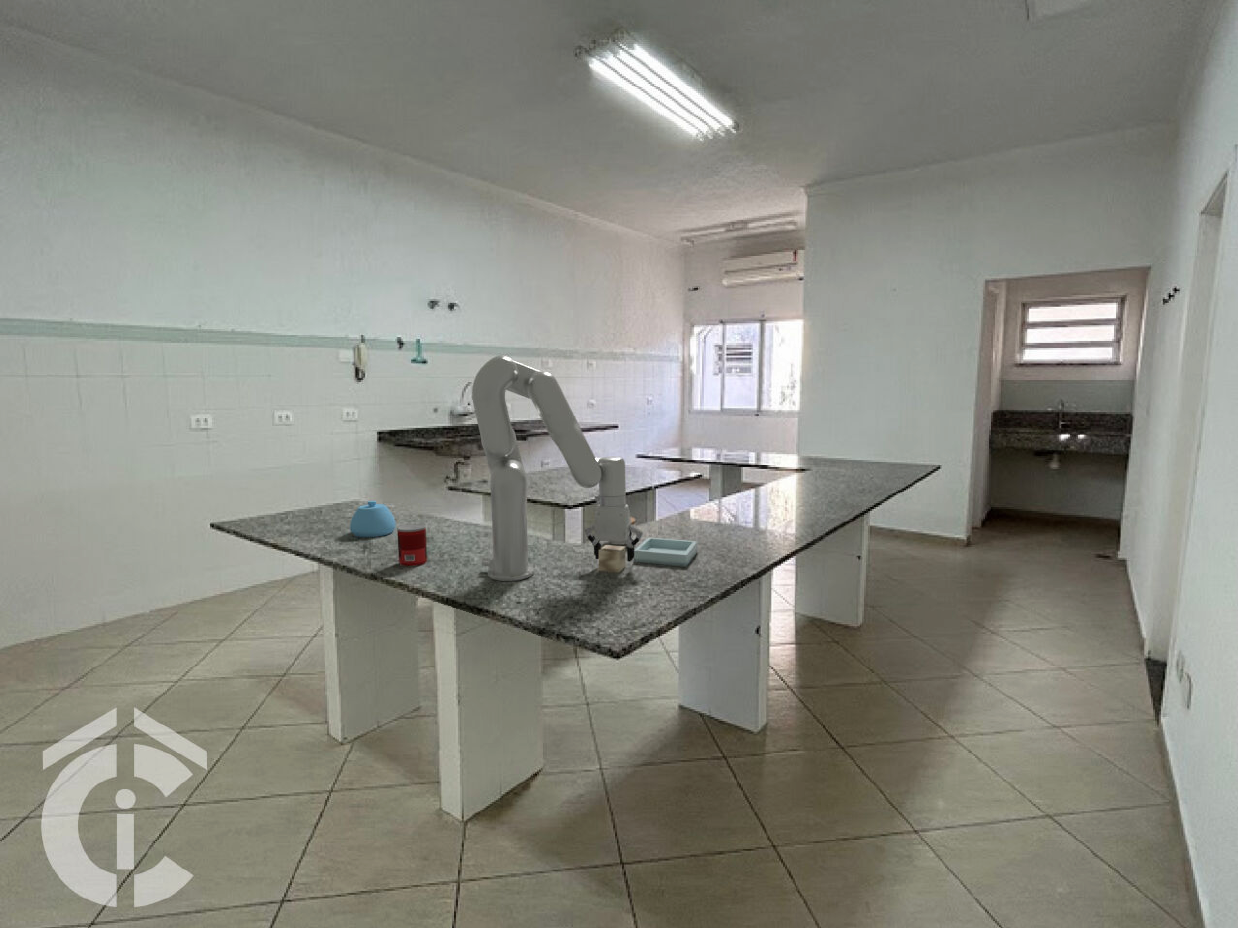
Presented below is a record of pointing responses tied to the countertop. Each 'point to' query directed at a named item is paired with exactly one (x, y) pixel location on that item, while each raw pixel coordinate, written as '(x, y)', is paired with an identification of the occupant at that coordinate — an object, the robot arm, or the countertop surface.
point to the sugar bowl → (372, 520)
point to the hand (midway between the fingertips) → (614, 559)
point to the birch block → (612, 558)
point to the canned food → (412, 544)
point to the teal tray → (665, 551)
